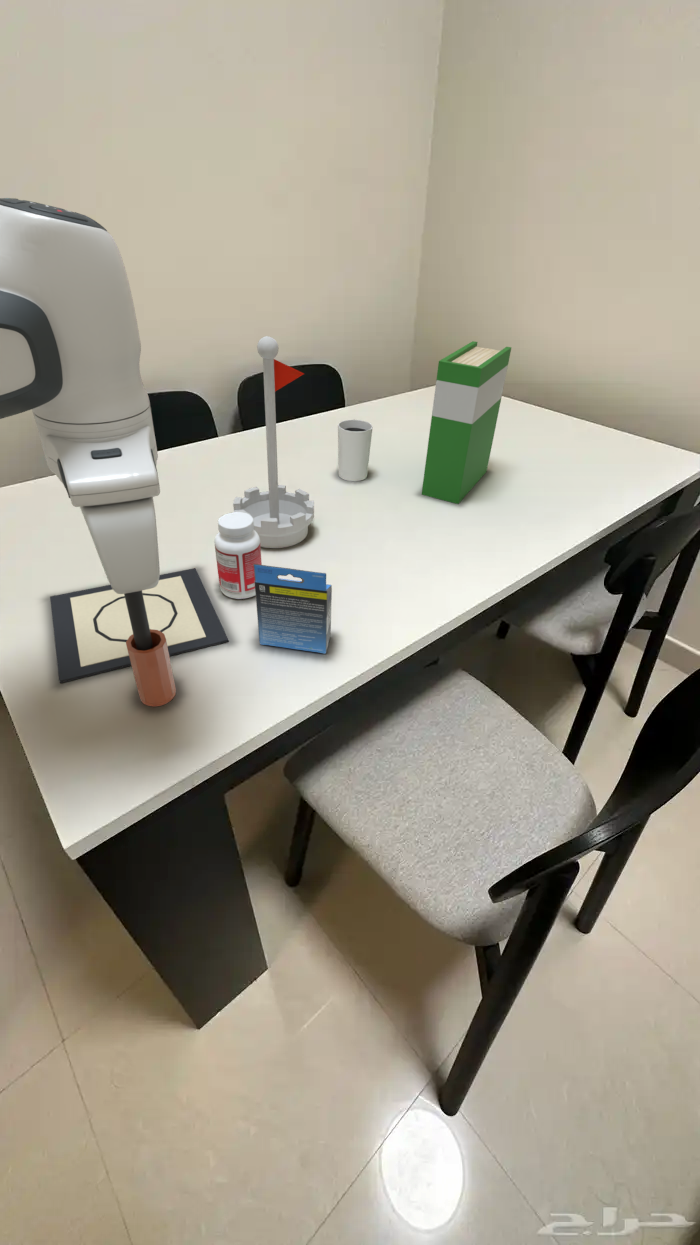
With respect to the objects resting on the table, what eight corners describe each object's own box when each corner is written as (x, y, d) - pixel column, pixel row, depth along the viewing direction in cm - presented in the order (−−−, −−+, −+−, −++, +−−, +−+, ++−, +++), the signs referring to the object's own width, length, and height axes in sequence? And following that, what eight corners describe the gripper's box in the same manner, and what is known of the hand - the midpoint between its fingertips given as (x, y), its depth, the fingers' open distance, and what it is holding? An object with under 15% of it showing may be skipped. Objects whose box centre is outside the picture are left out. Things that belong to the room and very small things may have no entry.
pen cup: (143, 710, 65) (129, 657, 60) (137, 687, 67) (123, 634, 62) (179, 700, 66) (168, 647, 61) (172, 678, 69) (161, 625, 64)
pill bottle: (260, 574, 87) (257, 507, 80) (265, 598, 82) (261, 529, 75) (218, 578, 86) (211, 510, 79) (220, 602, 81) (212, 532, 74)
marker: (139, 660, 62) (113, 546, 53) (136, 650, 63) (111, 537, 54) (155, 656, 62) (132, 542, 54) (152, 646, 64) (129, 534, 55)
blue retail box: (331, 636, 76) (334, 556, 69) (326, 655, 73) (328, 573, 66) (266, 626, 77) (261, 546, 70) (257, 645, 74) (252, 563, 67)
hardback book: (453, 463, 123) (472, 341, 109) (486, 471, 121) (511, 347, 106) (421, 494, 111) (438, 361, 96) (458, 504, 108) (481, 368, 94)
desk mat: (60, 683, 67) (58, 679, 67) (50, 598, 80) (49, 595, 80) (228, 641, 75) (228, 638, 74) (195, 570, 87) (195, 567, 87)
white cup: (354, 485, 113) (357, 434, 107) (329, 474, 116) (330, 425, 110) (376, 475, 117) (379, 426, 111) (351, 465, 120) (353, 417, 114)
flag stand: (246, 557, 91) (230, 350, 72) (228, 518, 100) (210, 327, 81) (324, 544, 95) (328, 346, 76) (300, 508, 104) (298, 324, 86)
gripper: (51, 405, 54) (84, 535, 63) (69, 497, 40) (109, 649, 49) (121, 399, 57) (144, 525, 65) (162, 485, 42) (185, 632, 51)
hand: (129, 579), depth 57 cm, fingers closed on marker, 2 cm apart
